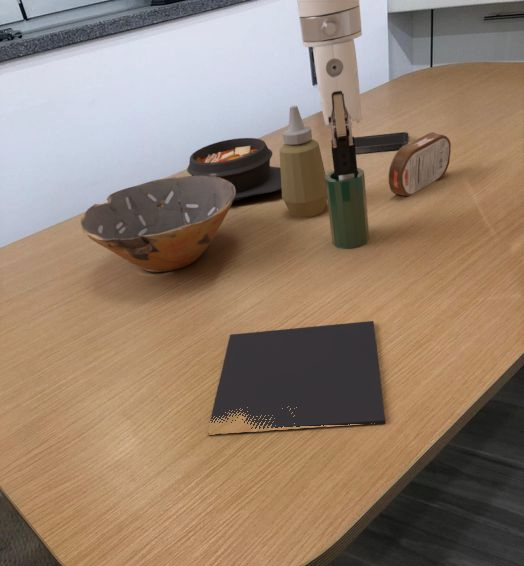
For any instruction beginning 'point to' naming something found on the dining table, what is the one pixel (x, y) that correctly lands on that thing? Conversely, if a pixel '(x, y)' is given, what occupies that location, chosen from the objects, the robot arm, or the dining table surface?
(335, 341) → the mat
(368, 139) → the phone
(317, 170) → the squeeze bottle
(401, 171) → the tin
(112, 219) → the bowl
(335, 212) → the pen holder
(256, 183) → the casserole
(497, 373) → the dining table surface
